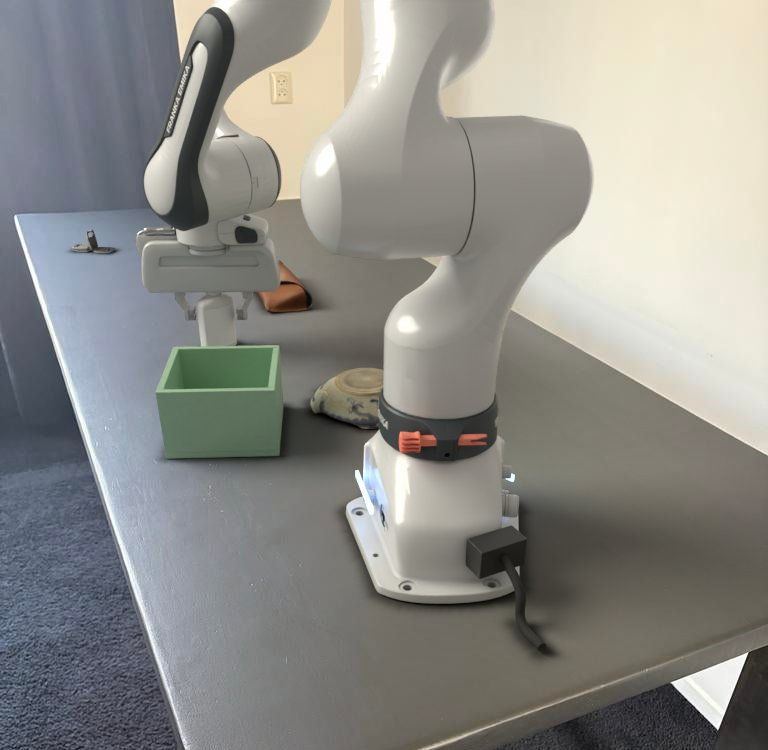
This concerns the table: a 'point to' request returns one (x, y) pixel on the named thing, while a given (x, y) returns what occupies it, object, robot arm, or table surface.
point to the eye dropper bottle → (216, 320)
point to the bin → (221, 402)
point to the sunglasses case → (286, 294)
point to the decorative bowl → (351, 397)
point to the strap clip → (91, 245)
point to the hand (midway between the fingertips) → (216, 319)
